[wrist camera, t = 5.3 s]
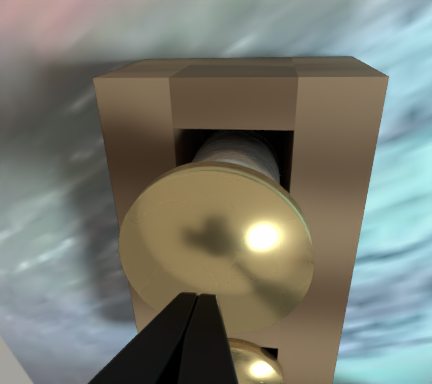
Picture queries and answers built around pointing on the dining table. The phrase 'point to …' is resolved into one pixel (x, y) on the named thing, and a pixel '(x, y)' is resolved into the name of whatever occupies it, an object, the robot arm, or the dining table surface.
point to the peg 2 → (255, 363)
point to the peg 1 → (221, 234)
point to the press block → (291, 181)
